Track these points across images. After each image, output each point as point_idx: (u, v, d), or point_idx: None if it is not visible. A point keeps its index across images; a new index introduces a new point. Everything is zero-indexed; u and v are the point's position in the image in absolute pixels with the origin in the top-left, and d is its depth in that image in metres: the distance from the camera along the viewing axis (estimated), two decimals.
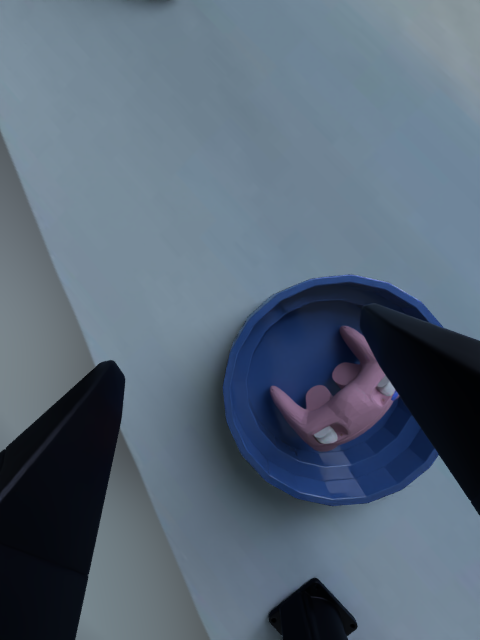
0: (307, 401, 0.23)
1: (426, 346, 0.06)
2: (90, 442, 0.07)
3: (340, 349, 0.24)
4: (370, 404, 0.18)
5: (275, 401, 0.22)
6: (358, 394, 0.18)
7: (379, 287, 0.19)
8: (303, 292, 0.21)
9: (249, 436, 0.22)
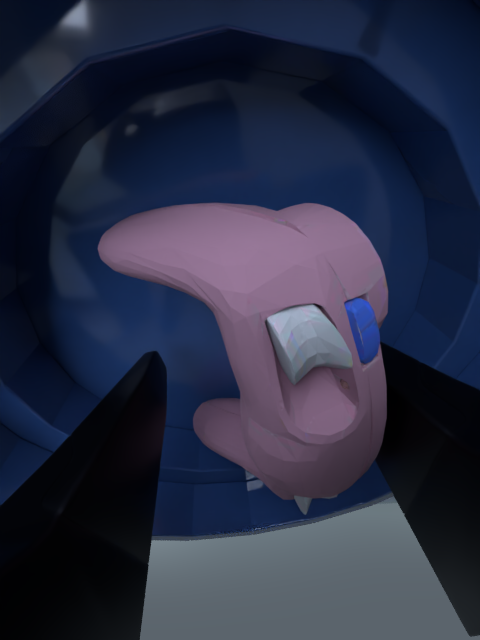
0: None
1: None
2: (145, 431, 0.07)
3: None
4: (315, 453, 0.05)
5: None
6: (265, 446, 0.05)
7: None
8: None
9: (247, 478, 0.13)
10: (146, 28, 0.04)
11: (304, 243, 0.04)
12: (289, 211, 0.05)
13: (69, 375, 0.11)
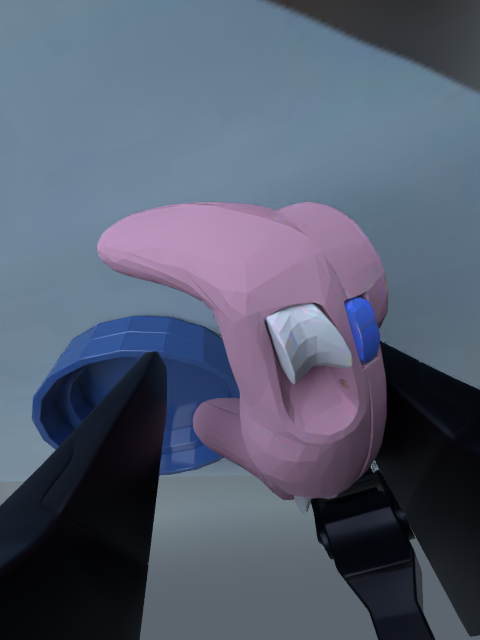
0: None
1: None
2: (145, 430, 0.07)
3: None
4: (315, 453, 0.05)
5: None
6: (264, 446, 0.05)
7: (53, 383, 0.18)
8: (57, 401, 0.22)
9: (172, 451, 0.29)
10: None
11: (304, 242, 0.04)
12: (289, 210, 0.05)
13: None
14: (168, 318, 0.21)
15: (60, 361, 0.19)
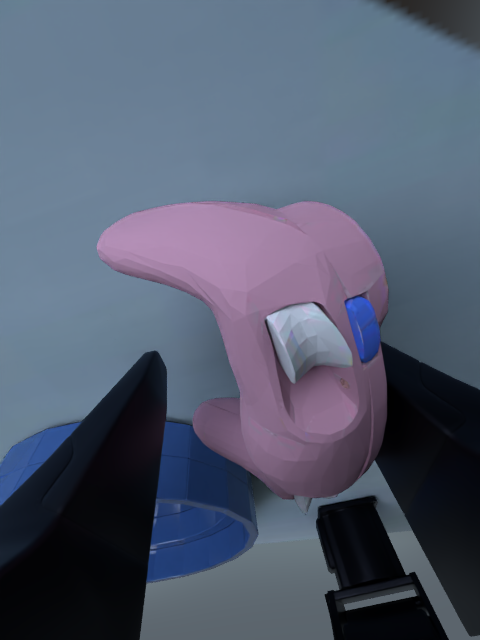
0: None
1: None
2: (144, 430, 0.07)
3: None
4: (315, 453, 0.05)
5: None
6: (265, 445, 0.05)
7: None
8: None
9: (156, 548, 0.24)
10: None
11: (304, 241, 0.04)
12: (289, 209, 0.05)
13: None
14: None
15: None
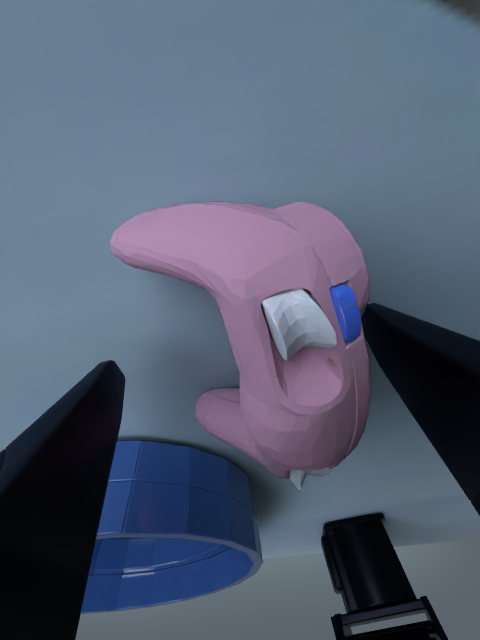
0: None
1: (426, 346, 0.06)
2: (90, 442, 0.07)
3: None
4: (305, 423, 0.05)
5: None
6: (261, 419, 0.06)
7: None
8: None
9: (154, 570, 0.23)
10: None
11: (294, 236, 0.05)
12: (283, 209, 0.05)
13: None
14: (138, 443, 0.14)
15: None
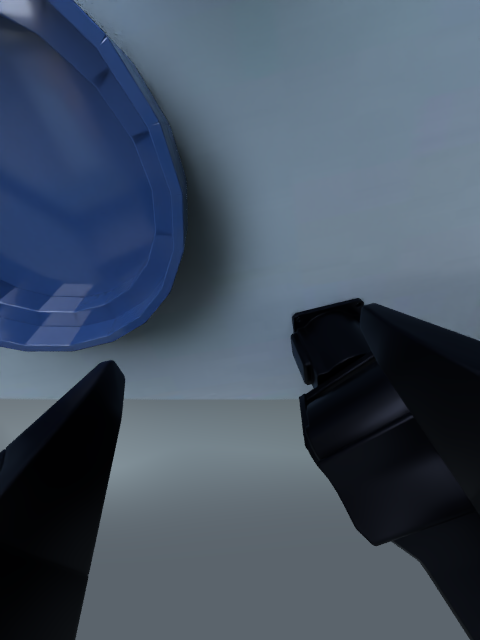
0: None
1: (426, 346, 0.06)
2: (90, 442, 0.07)
3: None
4: None
5: None
6: None
7: None
8: None
9: (80, 324, 0.19)
10: None
11: None
12: None
13: None
14: None
15: None
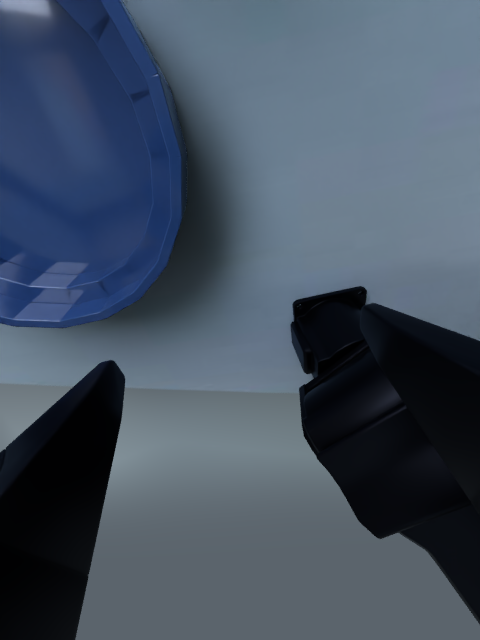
0: None
1: (426, 346, 0.06)
2: (90, 442, 0.07)
3: None
4: None
5: None
6: None
7: None
8: None
9: (72, 301, 0.18)
10: None
11: None
12: None
13: None
14: None
15: None
